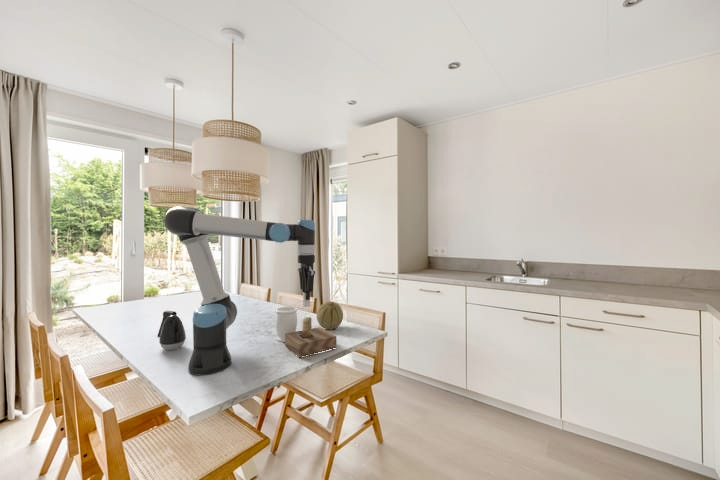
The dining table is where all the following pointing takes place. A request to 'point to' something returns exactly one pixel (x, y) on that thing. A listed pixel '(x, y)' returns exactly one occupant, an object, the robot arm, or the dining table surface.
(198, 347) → the robot arm
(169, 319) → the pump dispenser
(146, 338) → the dining table surface
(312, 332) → the wooden block with hole
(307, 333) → the peg
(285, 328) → the jar
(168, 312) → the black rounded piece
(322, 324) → the cantaloupe
